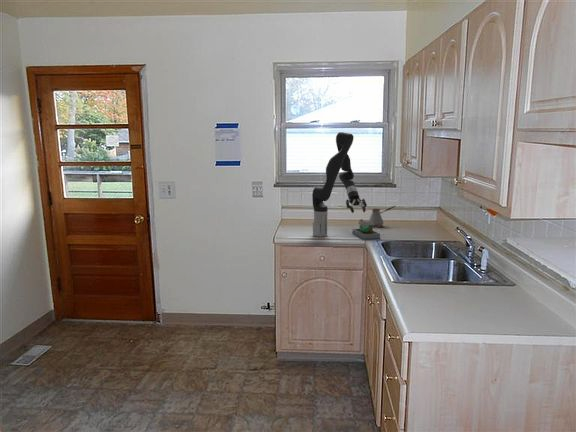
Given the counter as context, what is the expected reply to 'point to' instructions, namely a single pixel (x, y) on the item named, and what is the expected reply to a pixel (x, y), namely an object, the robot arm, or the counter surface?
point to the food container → (366, 227)
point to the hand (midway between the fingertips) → (358, 212)
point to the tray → (366, 236)
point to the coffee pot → (377, 217)
